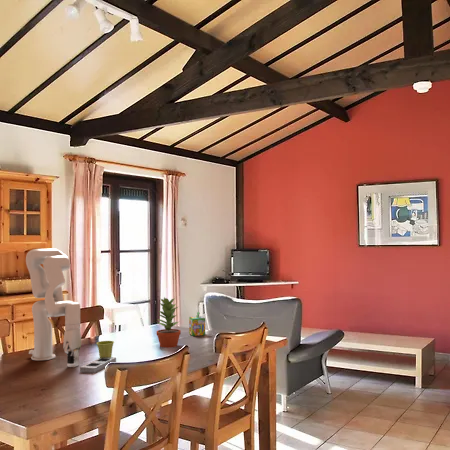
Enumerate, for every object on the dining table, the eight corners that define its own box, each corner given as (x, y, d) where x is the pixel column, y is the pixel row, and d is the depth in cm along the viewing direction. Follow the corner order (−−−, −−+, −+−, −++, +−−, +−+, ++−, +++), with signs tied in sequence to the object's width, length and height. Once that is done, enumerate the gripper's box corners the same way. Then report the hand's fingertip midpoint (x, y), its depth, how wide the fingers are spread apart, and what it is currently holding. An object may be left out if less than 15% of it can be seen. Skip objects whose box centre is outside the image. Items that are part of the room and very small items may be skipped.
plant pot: (96, 361, 277) (96, 344, 277) (96, 357, 286) (96, 341, 286) (114, 359, 280) (114, 343, 280) (113, 355, 289) (113, 340, 289)
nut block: (67, 366, 266) (67, 350, 266) (71, 364, 269) (71, 348, 270) (74, 367, 265) (74, 350, 265) (78, 365, 268) (78, 348, 269)
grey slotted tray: (80, 372, 255) (79, 367, 255) (102, 361, 276) (102, 356, 276) (94, 373, 252) (94, 368, 252) (116, 362, 274) (115, 357, 274)
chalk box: (188, 334, 349) (188, 311, 349) (202, 333, 352) (201, 311, 352) (192, 336, 340) (191, 313, 340) (205, 335, 343) (205, 313, 343)
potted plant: (183, 343, 320) (182, 294, 320) (178, 348, 304) (177, 297, 305) (159, 343, 321) (158, 294, 322) (153, 348, 306) (152, 297, 306)
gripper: (75, 323, 276) (75, 358, 276) (56, 329, 260) (57, 366, 260) (87, 324, 274) (88, 358, 274) (70, 329, 258) (70, 366, 258)
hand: (73, 362), depth 267 cm, fingers closed on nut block, 4 cm apart
